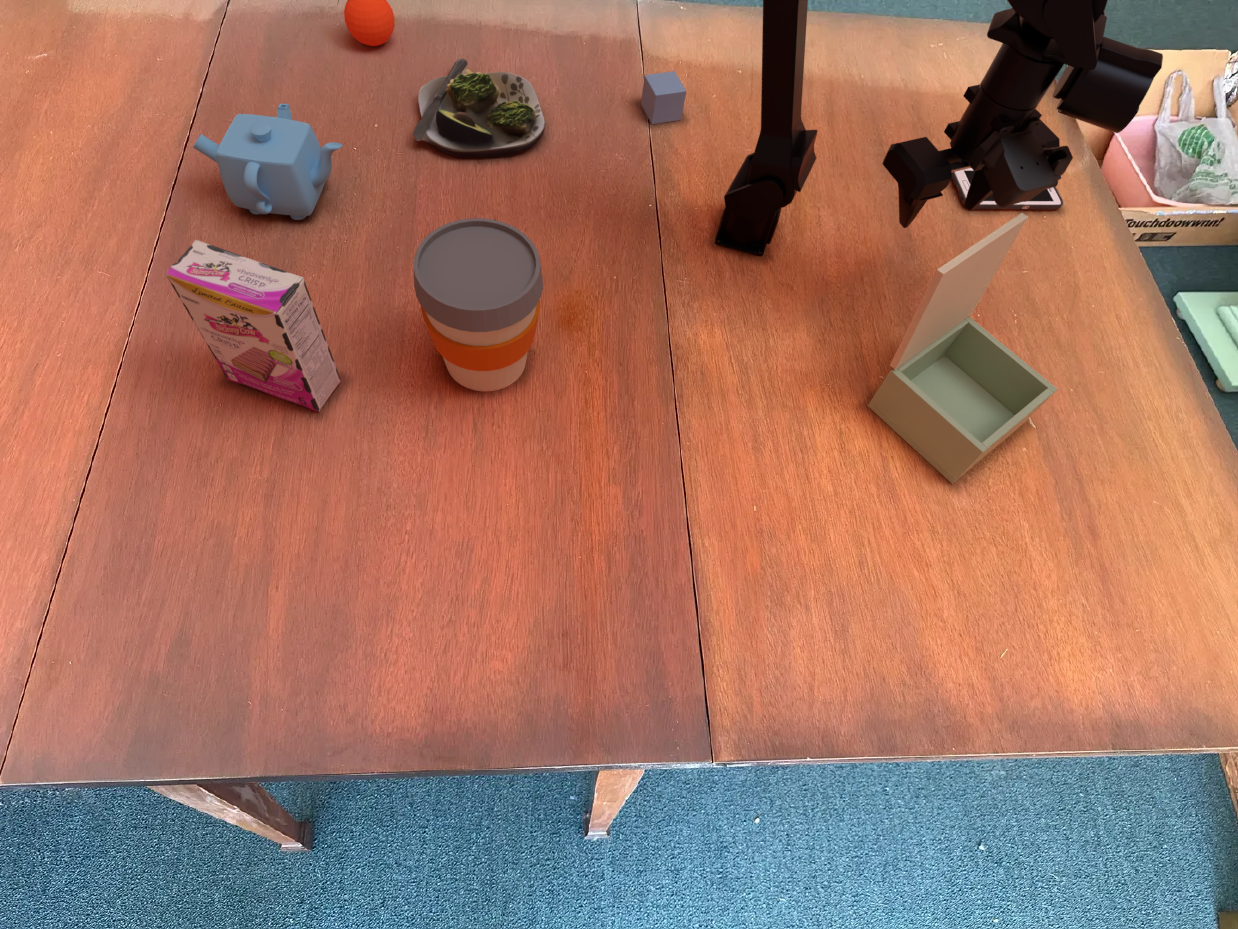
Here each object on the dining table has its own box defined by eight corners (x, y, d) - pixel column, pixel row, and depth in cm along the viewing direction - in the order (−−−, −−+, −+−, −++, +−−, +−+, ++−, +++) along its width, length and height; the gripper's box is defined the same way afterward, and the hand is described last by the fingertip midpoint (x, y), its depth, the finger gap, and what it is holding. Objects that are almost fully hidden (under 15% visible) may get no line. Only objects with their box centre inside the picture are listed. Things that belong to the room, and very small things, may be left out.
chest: (1024, 423, 90) (1058, 388, 84) (952, 484, 85) (983, 452, 79) (940, 351, 94) (967, 314, 88) (867, 405, 89) (890, 370, 83)
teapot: (194, 223, 93) (159, 152, 85) (234, 146, 100) (206, 74, 92) (344, 243, 94) (325, 175, 85) (374, 166, 101) (359, 96, 92)
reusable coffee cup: (493, 298, 92) (486, 198, 79) (565, 364, 88) (570, 269, 75) (405, 353, 87) (383, 255, 74) (478, 425, 83) (467, 334, 70)
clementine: (335, 49, 112) (323, -1, 106) (351, 22, 116) (341, -28, 110) (389, 59, 112) (381, 10, 106) (404, 32, 116) (397, -17, 110)
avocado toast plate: (404, 73, 111) (399, 42, 107) (528, 67, 114) (528, 36, 110) (417, 164, 102) (412, 134, 98) (551, 155, 105) (552, 125, 101)
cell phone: (947, 171, 111) (950, 166, 110) (1041, 172, 113) (1045, 167, 112) (964, 210, 107) (967, 204, 106) (1062, 210, 109) (1066, 205, 108)
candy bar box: (224, 382, 83) (160, 273, 68) (251, 348, 85) (194, 235, 71) (320, 416, 82) (275, 312, 67) (344, 380, 84) (305, 273, 70)
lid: (1028, 216, 77) (1021, 212, 77) (943, 273, 71) (936, 269, 72) (972, 314, 88) (966, 310, 88) (895, 369, 83) (889, 365, 83)
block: (651, 124, 110) (656, 95, 106) (640, 104, 112) (644, 74, 108) (681, 120, 112) (686, 90, 108) (669, 100, 114) (674, 70, 110)
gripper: (984, 165, 68) (908, 287, 82) (1138, 127, 74) (1042, 248, 87) (914, 87, 73) (853, 215, 86) (1063, 57, 78) (983, 182, 92)
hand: (935, 216), depth 88 cm, fingers open, 9 cm apart
